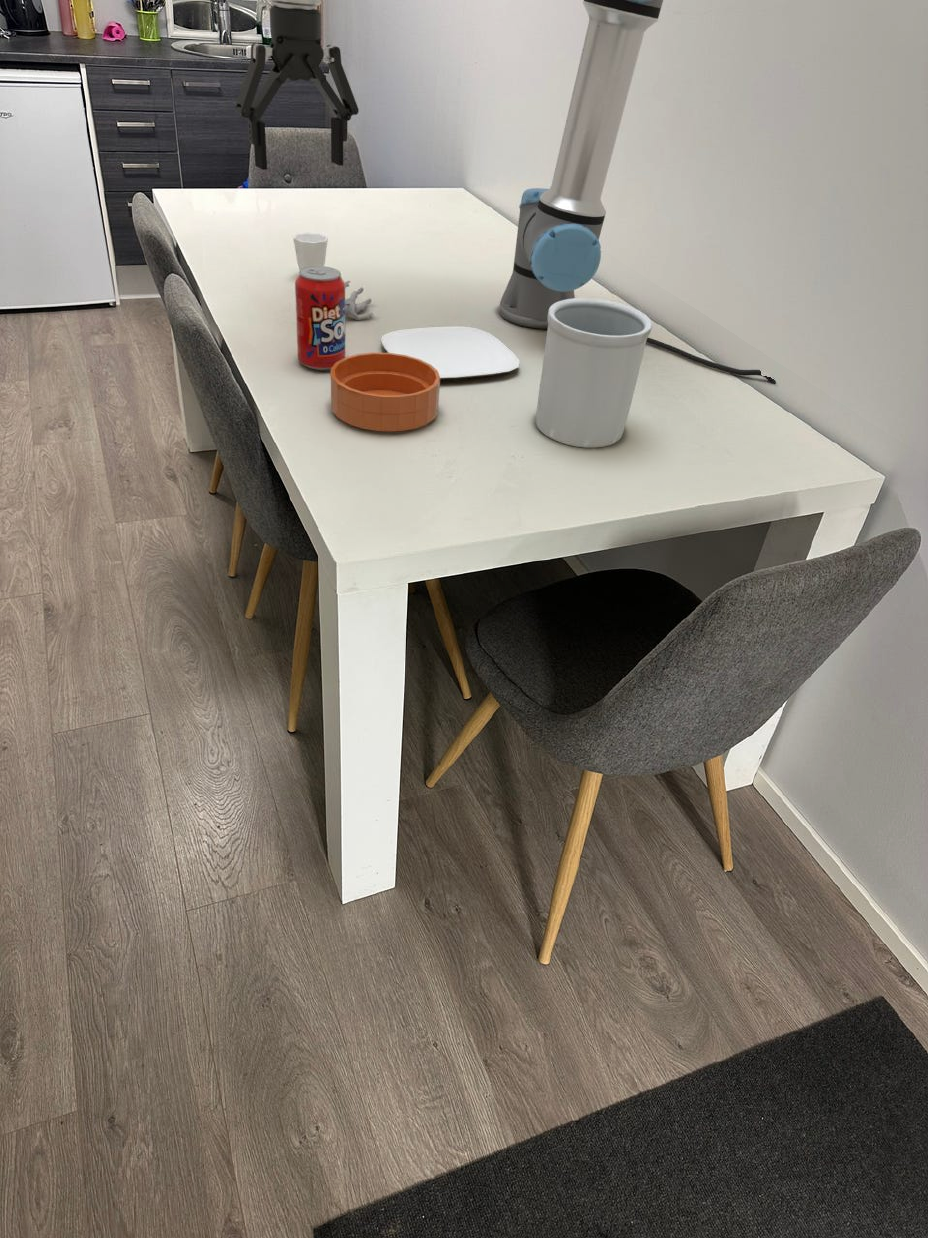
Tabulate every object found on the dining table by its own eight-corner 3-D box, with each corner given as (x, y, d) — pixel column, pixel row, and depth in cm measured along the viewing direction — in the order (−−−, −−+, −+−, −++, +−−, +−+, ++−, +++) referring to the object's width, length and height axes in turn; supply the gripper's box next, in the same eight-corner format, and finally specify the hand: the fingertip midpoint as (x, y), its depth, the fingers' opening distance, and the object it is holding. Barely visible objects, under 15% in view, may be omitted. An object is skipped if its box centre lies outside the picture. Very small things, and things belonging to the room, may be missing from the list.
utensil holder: (643, 447, 131) (670, 333, 120) (552, 453, 127) (571, 336, 116) (604, 405, 142) (625, 296, 131) (518, 409, 138) (533, 298, 127)
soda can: (305, 352, 149) (302, 261, 139) (350, 358, 148) (350, 267, 139) (292, 369, 142) (288, 275, 133) (338, 376, 142) (338, 282, 133)
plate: (370, 339, 155) (370, 330, 154) (480, 331, 163) (481, 322, 162) (413, 389, 140) (413, 379, 139) (532, 378, 148) (533, 368, 147)
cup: (298, 284, 175) (296, 242, 170) (288, 268, 182) (286, 228, 177) (332, 283, 177) (331, 242, 172) (321, 268, 185) (320, 227, 180)
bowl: (445, 397, 139) (448, 360, 135) (426, 442, 126) (428, 403, 123) (346, 382, 140) (346, 346, 136) (318, 425, 128) (317, 387, 124)
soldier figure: (382, 313, 169) (372, 313, 158) (363, 329, 171) (351, 330, 159) (356, 279, 167) (344, 277, 156) (337, 295, 169) (324, 294, 157)
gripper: (356, 6, 136) (355, 156, 149) (203, -2, 123) (217, 163, 137) (381, 12, 131) (378, 166, 144) (225, 4, 119) (237, 174, 132)
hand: (300, 165), depth 141 cm, fingers open, 13 cm apart
